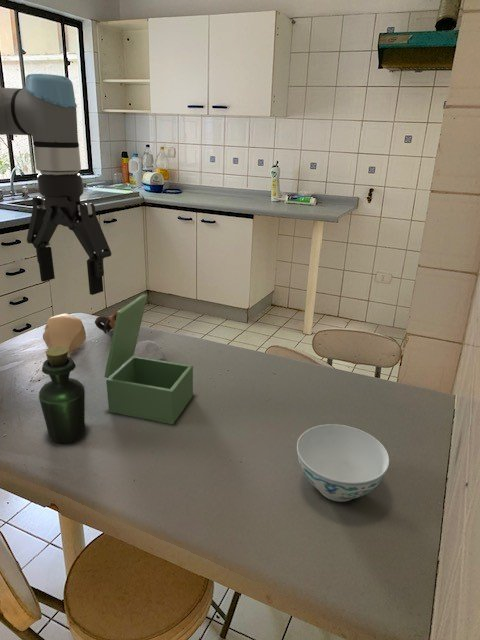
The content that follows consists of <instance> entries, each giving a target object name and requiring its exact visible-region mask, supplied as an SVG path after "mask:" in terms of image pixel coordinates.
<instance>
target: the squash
mask: <svg viewBox="0 0 480 640" xmlns="http://www.w3.org/2000/svg"><path fill="white" fill-rule="evenodd" d="M42 340H43V341H44V344H45V345H46V347H47V349H50V348H52V347H58V346H61V347H66V348H67V349H68V355H67V356H68V357H71V355H72V353H74V352H77V351H78V350H79V349H81V347H82V345H83V344H84V343H85V341H86V340H87V333H86V329H85V326H84V324H83V321H82V319H81V318H79V317H76V316H74V315H72V314H69V313H60V314H57V315H53V316H51V317H49V318H48V320H47V321H46V323H45V326H44V332H43V333H42ZM47 359H48V358H47V357H46V360H47Z"/></svg>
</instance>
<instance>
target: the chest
mask: <svg viewBox="0 0 480 640" xmlns="http://www.w3.org/2000/svg"><path fill="white" fill-rule="evenodd" d="M105 381H106V395H107V405H108V406H107V407H108V408H107V409H108V412H109V413H113V414H118V415H123V416H128V417H133V418H137V419H143V420H147V421H154V422H158V423H162V424H163V423H164V424H168V425H174V423H176V421H177V419H178V418H179V417H180V415H181V414H182V412H183V411H184V409H185V408H186V407H187V405H188V404H189V403H190V401H191V400H192V398H193V396H194V366H193V365H191V364H185V363H184V364H183V363H179V362H172V361H167V360H165V361H161V360H155V359H149V358H143V357H137V356H132V357H131V358H130V359H129V360H128V361H126V362H125V363H124V364H123V365H122V366H121V367H120V368H118V369H117V370H116V371H115V372H114V373H113V374H112V375H111V376H110V377H108V378H106V379H105Z"/></svg>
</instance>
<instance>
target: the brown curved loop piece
mask: <svg viewBox="0 0 480 640" xmlns="http://www.w3.org/2000/svg"><path fill="white" fill-rule="evenodd" d="M118 311H119V310H117V311H115V312H114V313H113V314H111V315H110V316H106V315H105V316H104V315H100V316H98V317H96V318H95V320H94V324H95V326H96V327H97V328H98V329H99V330H101V331H103V333H104V334H105V335H106V334H107V333H109V332H110V331H111V330H114V326H115V321H116V316H117V312H118Z"/></svg>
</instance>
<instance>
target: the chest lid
mask: <svg viewBox="0 0 480 640" xmlns="http://www.w3.org/2000/svg"><path fill="white" fill-rule="evenodd" d="M147 299H148V294H146V293H143V294H141V295H140V296H139V297H137V298H136V299H134V300H132V301H131V302H130V303H129V304H126V305H125V306H124V307H122V308H121V309H120V310H117V311H118V312H117V311H116V312H117V316H116V321H115V326H114V329H113V331H112V338H111V343H110V347H109V352H108V357H107V362H106V367H105V371H104V378H106V379H108V378H109V377H110V376H111V375H112V374H113V373H114V372H115V371H116V370H118V369H119V368H120V367H121V366H122V365H123V364H124V363H125V362H126V361H127V360H128V359H130V358H131V357H132V356H133V355H134V352H135V348H136V343H138V339H139V334H140V329H141V325H142V321H143V317H144V314H145V313H144V312H145V308H146V304H147Z"/></svg>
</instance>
